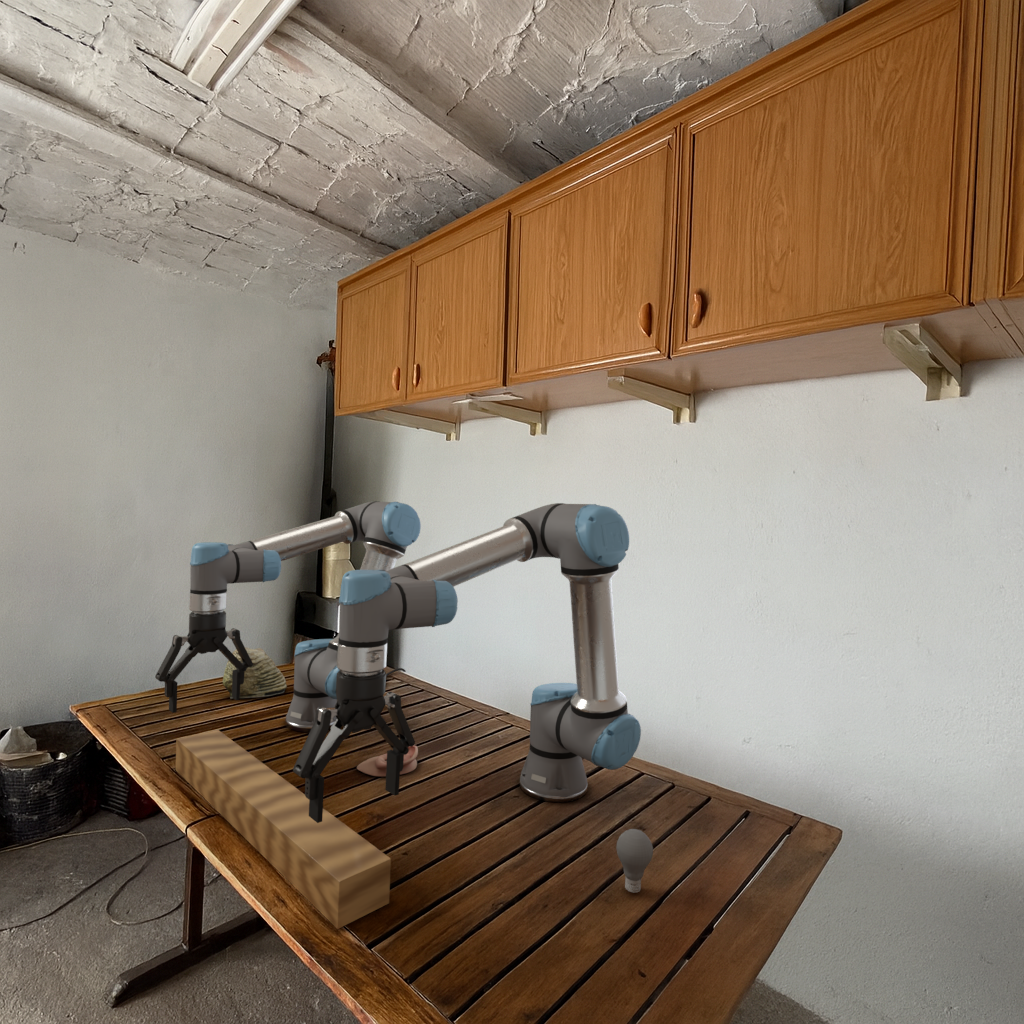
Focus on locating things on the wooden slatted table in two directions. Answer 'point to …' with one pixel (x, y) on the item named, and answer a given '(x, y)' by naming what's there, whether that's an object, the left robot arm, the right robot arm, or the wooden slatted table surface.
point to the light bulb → (634, 857)
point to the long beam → (287, 828)
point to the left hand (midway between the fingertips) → (205, 704)
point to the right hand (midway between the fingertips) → (355, 805)
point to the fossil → (256, 676)
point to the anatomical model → (379, 763)
